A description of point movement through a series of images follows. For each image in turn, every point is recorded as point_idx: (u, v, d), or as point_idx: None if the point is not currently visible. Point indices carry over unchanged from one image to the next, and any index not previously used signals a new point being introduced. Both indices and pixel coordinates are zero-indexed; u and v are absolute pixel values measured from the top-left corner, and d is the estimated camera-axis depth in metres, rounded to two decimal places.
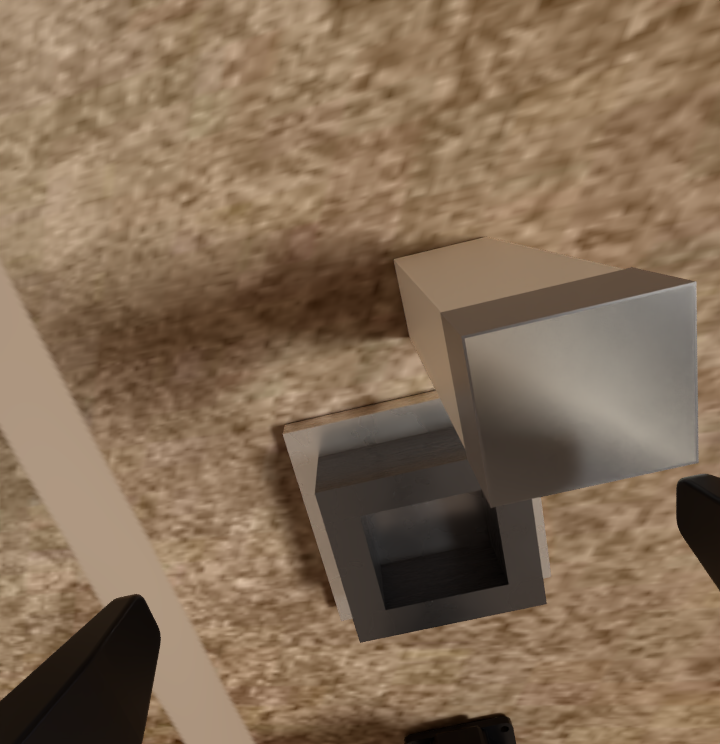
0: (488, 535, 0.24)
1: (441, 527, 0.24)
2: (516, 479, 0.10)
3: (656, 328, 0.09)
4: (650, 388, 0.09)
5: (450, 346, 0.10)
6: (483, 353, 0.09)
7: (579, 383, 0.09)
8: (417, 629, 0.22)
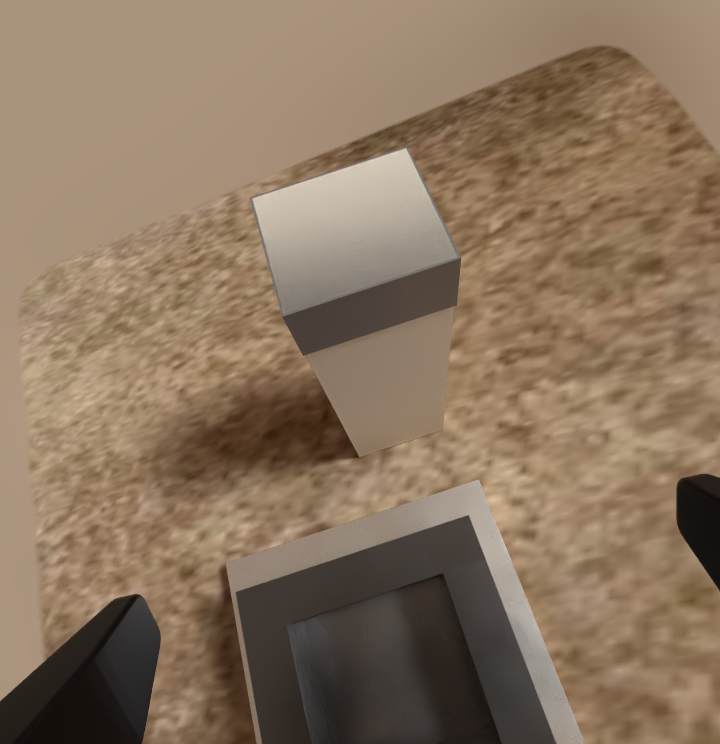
0: (486, 711, 0.17)
1: (418, 698, 0.18)
2: (301, 289, 0.11)
3: (388, 174, 0.12)
4: (397, 209, 0.12)
5: None
6: (266, 205, 0.12)
7: (340, 213, 0.12)
8: None
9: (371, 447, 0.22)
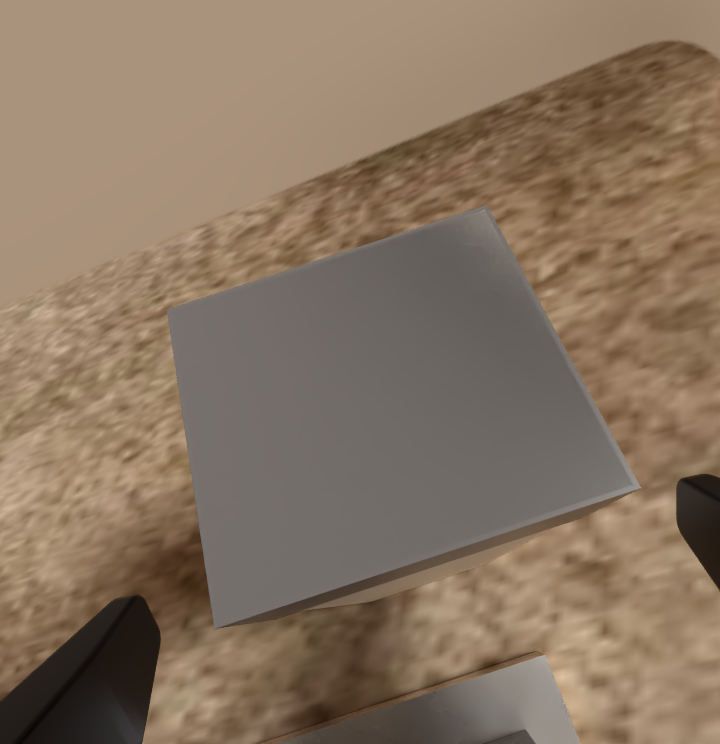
0: None
1: None
2: (263, 550, 0.05)
3: (451, 265, 0.06)
4: (476, 351, 0.05)
5: None
6: (197, 328, 0.06)
7: (351, 355, 0.05)
8: None
9: (388, 595, 0.16)
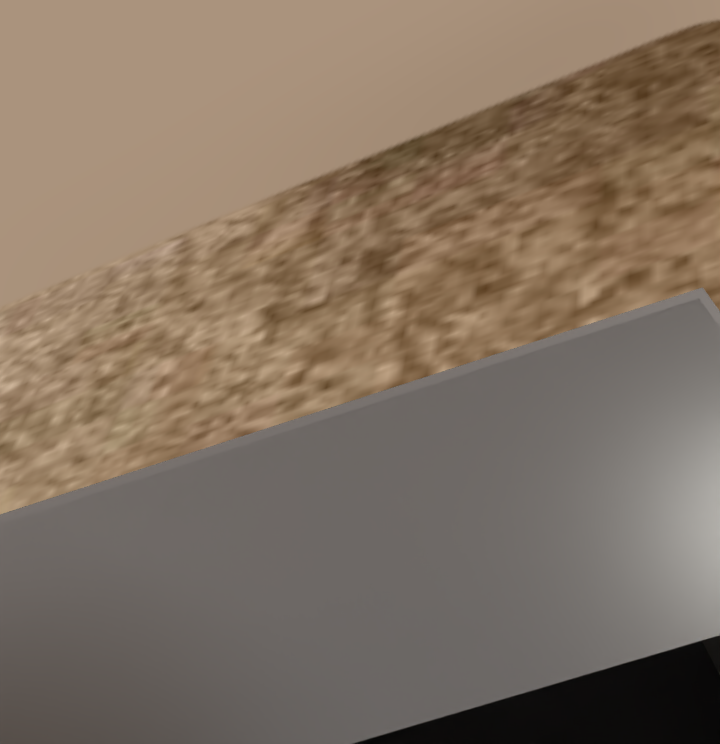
0: None
1: None
2: None
3: (639, 447, 0.02)
4: None
5: None
6: (11, 592, 0.02)
7: (397, 720, 0.02)
8: None
9: None
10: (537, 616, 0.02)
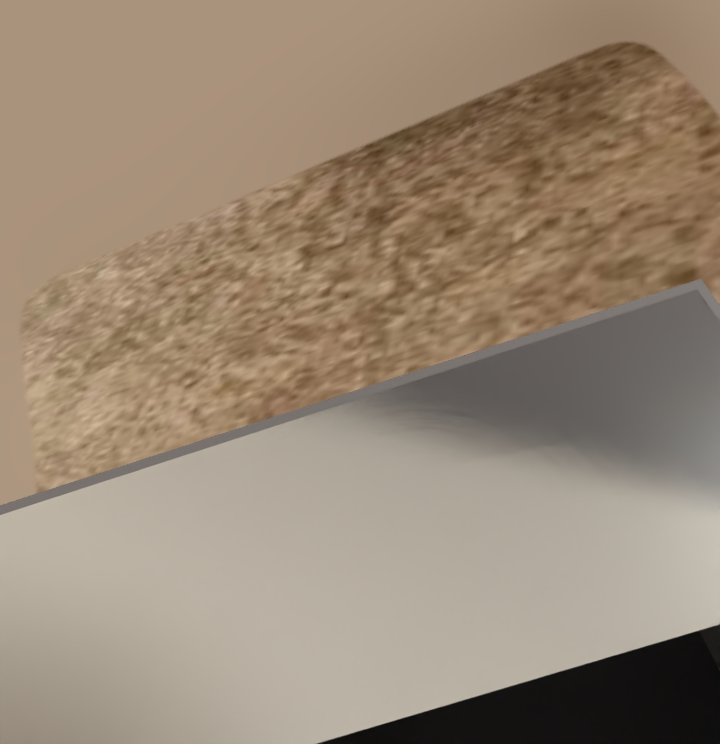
0: None
1: None
2: None
3: (638, 438, 0.02)
4: None
5: None
6: (10, 582, 0.02)
7: (394, 710, 0.02)
8: None
9: None
10: (535, 604, 0.02)
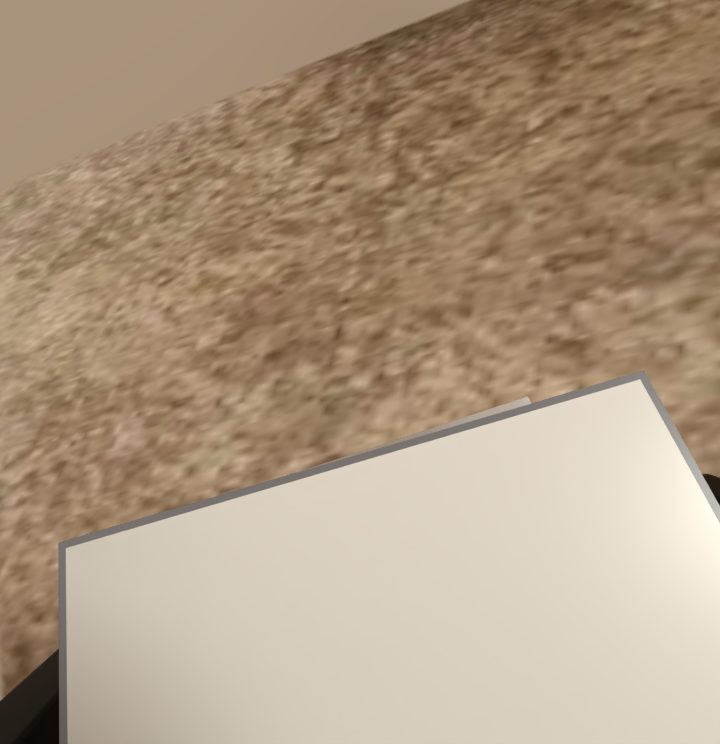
0: None
1: None
2: None
3: (585, 497, 0.03)
4: (653, 717, 0.03)
5: None
6: (108, 591, 0.03)
7: (394, 695, 0.03)
8: None
9: None
10: (500, 623, 0.03)
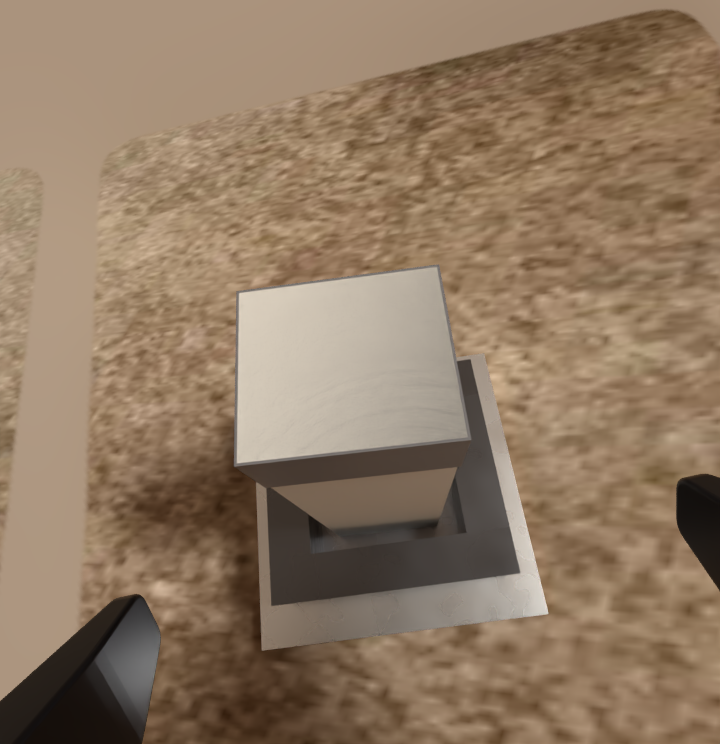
0: (456, 529, 0.20)
1: None
2: (266, 434, 0.09)
3: (407, 297, 0.10)
4: (407, 350, 0.09)
5: None
6: (252, 306, 0.10)
7: (336, 339, 0.09)
8: (347, 594, 0.17)
9: (353, 532, 0.20)
10: (372, 325, 0.09)
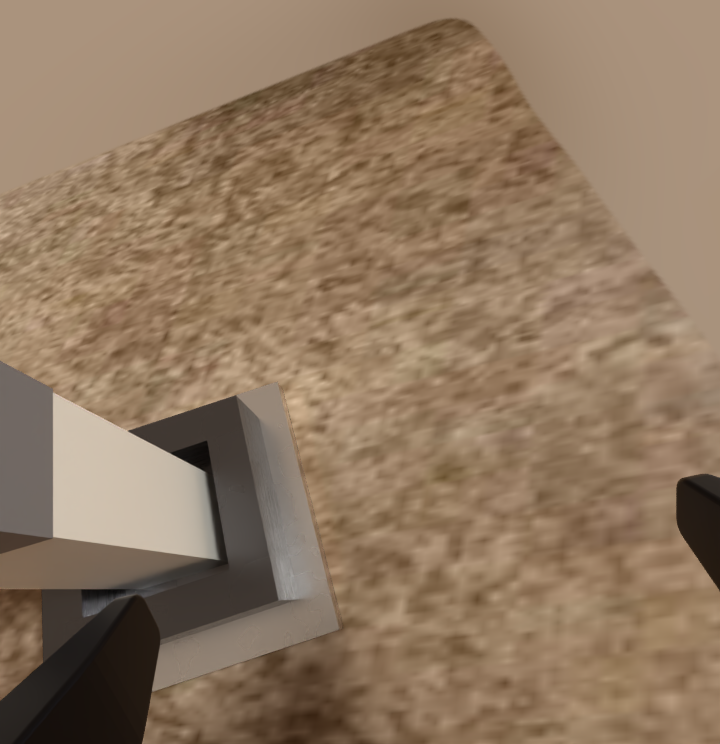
0: None
1: None
2: None
3: None
4: None
5: None
6: None
7: None
8: None
9: (146, 584, 0.20)
10: None
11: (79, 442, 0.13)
